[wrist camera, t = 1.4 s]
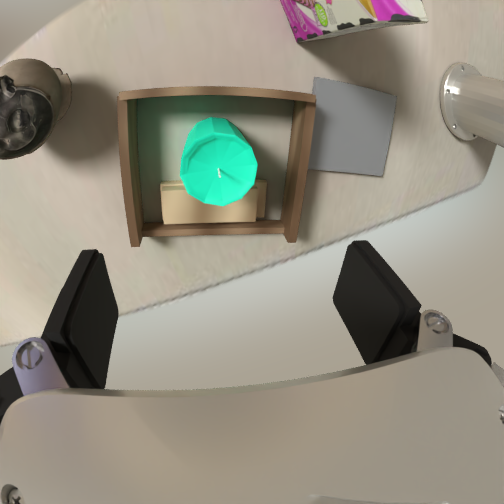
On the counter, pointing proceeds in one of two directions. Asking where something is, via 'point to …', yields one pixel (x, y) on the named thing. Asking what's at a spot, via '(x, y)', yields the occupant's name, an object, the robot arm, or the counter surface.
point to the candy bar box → (349, 16)
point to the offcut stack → (210, 205)
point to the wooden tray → (286, 225)
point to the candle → (217, 163)
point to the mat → (350, 128)
